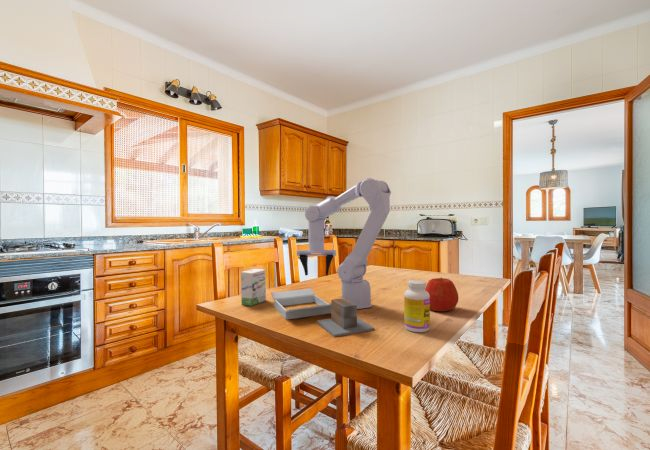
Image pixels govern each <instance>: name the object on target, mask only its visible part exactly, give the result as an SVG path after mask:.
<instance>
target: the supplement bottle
mask: <svg viewBox="0 0 650 450" xmlns="http://www.w3.org/2000/svg"><path fill="white" fill-rule="evenodd" d="M426 285H427V283H426V281H425V280H420V279H409V280H408V281H407V287H408V289H407V290H406V291H404V292H403V294H404V295H403V296H404V297H403V298H404V301H403V302H404V304H403V305H404V310H403V311H404V314H403V315H404V318H403V319H404V320H403V321H404V328H405V329H406V330H408V331H410V332H413V333H426V332H428V331H429V330H430V328H431V327H430V326H431V313H430V312H431V310H430V295H429V293H428V292H427V291H425V288H426Z"/></svg>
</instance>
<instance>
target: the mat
mask: <svg viewBox="0 0 650 450" xmlns="http://www.w3.org/2000/svg"><path fill="white" fill-rule="evenodd" d="M316 323H317V324H318V325H319V326H320V327H321V328H322V329H323V330H325V331H326V332H328V334H329V335H331V336H332V337H334V338H337V337H341V336H342V337H343V336H348V335H353V334H359V333H364V332H369V331H370V332H371V331H375V327H374V326H372V325H371V324H369V323H368V322H366V321H364V320H362V319H361V318H359V317H357V327H354V328H348V329H343V328H342V327H340V326H339V325H337V324H336V323H335V322H333V321H332V317H331V318H326V319H317V320H316Z"/></svg>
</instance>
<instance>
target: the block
mask: <svg viewBox="0 0 650 450" xmlns="http://www.w3.org/2000/svg"><path fill="white" fill-rule="evenodd" d="M330 304H331V309H332V313H331V318H332V321H333V322H335V323H336V324H337V325H339V326H340V327H342V328H343V329H348V328H354V327H357V318H358V309H357V305H356V304H354V303H352V302H350V301H348V300H346V299H344V298H342V297H341V298H336V299H335V298H334V299H331V303H330Z"/></svg>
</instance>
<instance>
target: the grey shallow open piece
mask: <svg viewBox="0 0 650 450" xmlns="http://www.w3.org/2000/svg"><path fill="white" fill-rule="evenodd" d="M270 293H271V297H272V299H273V307H274V308H275V309H276V311H277V312H278V313H279V314H280V315H281V316H282V317H283V319H284V320H286V321H287V320H294V319H299V318H307V317H308V318H309V317H314V316H321V315H328V314H332V309H331V303H329V302H327V301H325V300H324V299H323V298H321V297H319V296H318V295H316V293H314V291H313V289H312V288H303V289H302V288H301V289H294V290H292V289H291V290H285V291H284V290H283V291H275V292H270ZM314 302H315V303H314ZM310 303H314V304H315V306H314V305H313V306H306V307H299V308H291V309H286V308H285V306H293V305H301V304H310Z"/></svg>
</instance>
